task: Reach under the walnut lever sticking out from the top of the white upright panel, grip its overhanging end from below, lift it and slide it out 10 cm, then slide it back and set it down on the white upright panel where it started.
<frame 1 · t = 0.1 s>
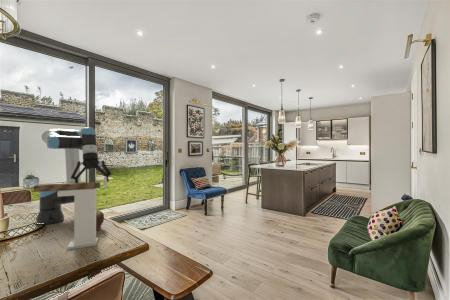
hand: (93, 189, 127), 28 cm above the table, tool tilted 20°, fingers open, 13 cm apart
lever: (71, 189, 116), point 30 cm above the table, touching white upright panel
white upright panel: (77, 245, 118), on the table
shell: (93, 230, 139), on the table
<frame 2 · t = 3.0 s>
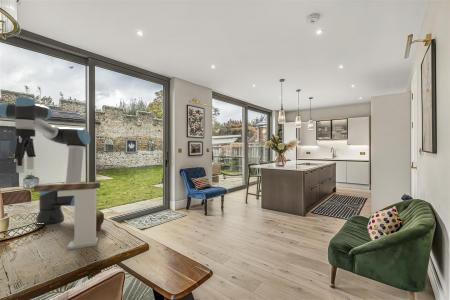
hand: (25, 171, 112), 40 cm above the table, tool pointing down, fingers open, 13 cm apart
nothing on the table moved.
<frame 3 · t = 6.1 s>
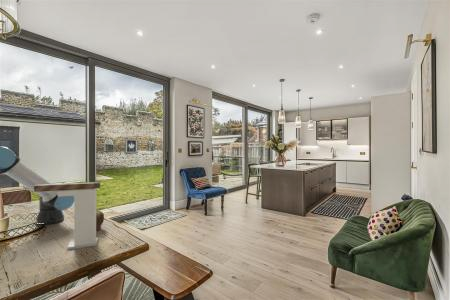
nothing on the table moved.
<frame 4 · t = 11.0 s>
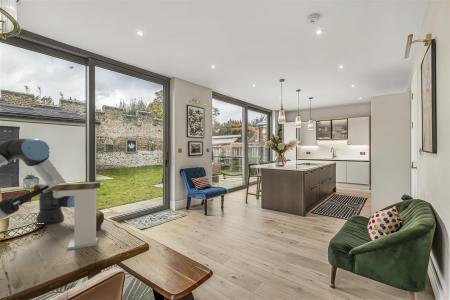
hand: (56, 181, 114), 34 cm above the table, tool pointing upward, fingers closed on lever, 3 cm apart
lever: (71, 189, 116), point 30 cm above the table, touching gripper, white upright panel
everything else where it was.
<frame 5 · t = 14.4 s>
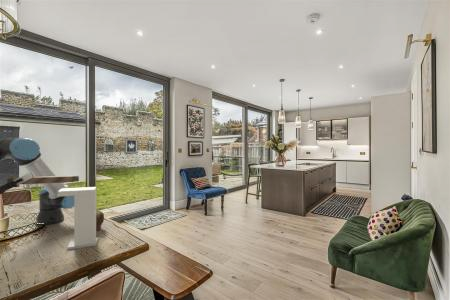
hand: (32, 174, 109), 38 cm above the table, tool pointing upward, fingers closed on lever, 3 cm apart
lever: (47, 182, 112), point 34 cm above the table, touching gripper
everything else where it was.
when the fingers open (35 cm above the table, at t = 17.8 s): lever drops 1 cm, resting on white upright panel.
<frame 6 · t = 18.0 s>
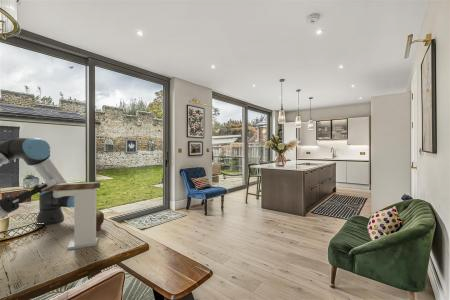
hand: (56, 180, 113), 35 cm above the table, tool pointing upward, fingers open, 5 cm apart
lever: (71, 189, 116), point 30 cm above the table, touching white upright panel
everything else where it was.
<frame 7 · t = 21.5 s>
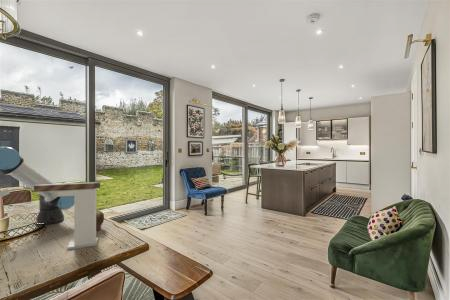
hand: (2, 193, 106), 29 cm above the table, tool pointing upward, fingers open, 13 cm apart
nothing on the table moved.
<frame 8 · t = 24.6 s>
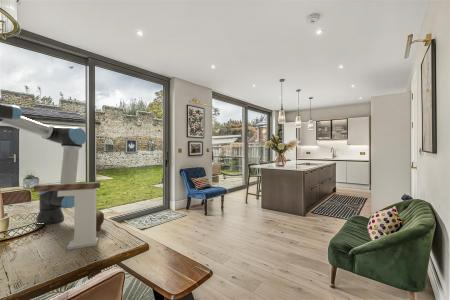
nothing on the table moved.
at the end: lever 0.1 cm from the target spot, point 30.0 cm above the table; lever touching white upright panel; the gripper is holding nothing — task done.
